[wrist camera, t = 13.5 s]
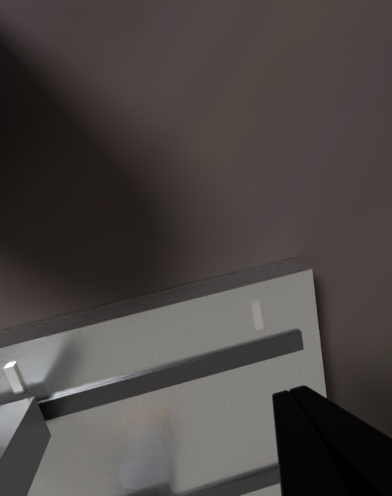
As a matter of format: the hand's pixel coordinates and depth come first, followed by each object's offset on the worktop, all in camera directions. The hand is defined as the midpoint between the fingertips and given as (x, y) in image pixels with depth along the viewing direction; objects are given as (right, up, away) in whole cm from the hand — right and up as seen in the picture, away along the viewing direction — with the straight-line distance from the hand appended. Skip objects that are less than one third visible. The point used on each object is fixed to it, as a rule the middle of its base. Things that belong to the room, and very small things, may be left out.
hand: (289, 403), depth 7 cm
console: (-5, -6, +10) cm, 13 cm away
